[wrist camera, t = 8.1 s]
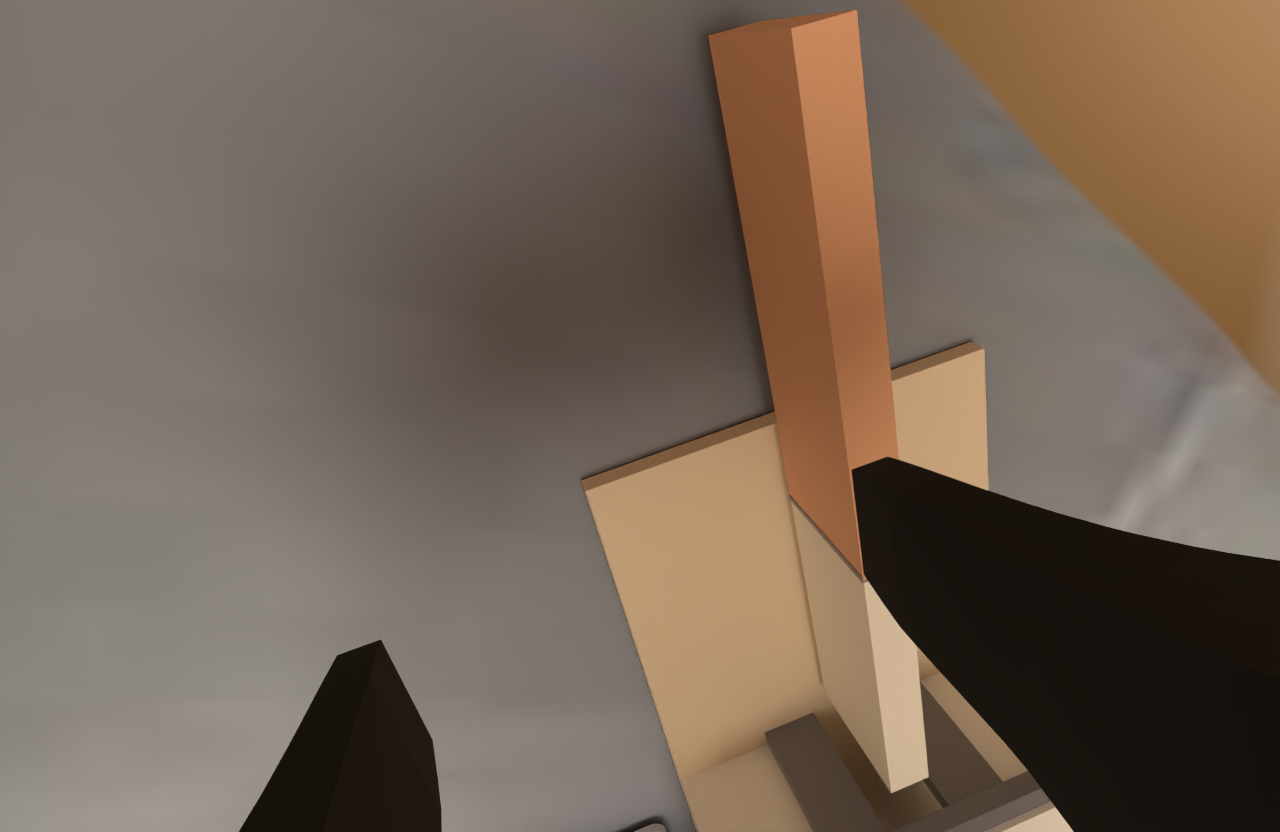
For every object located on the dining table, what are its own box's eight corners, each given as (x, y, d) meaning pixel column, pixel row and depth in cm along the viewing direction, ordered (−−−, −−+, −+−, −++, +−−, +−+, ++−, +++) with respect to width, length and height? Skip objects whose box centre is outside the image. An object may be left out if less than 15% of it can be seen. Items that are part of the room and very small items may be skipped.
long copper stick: (858, 678, 26) (929, 776, 22) (823, 692, 25) (890, 793, 22) (762, 20, 16) (858, 9, 13) (707, 36, 16) (789, 29, 13)
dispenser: (989, 823, 33) (1103, 973, 28) (731, 939, 32) (799, 1122, 26) (970, 341, 22) (1150, 430, 17) (580, 480, 21) (640, 628, 15)
